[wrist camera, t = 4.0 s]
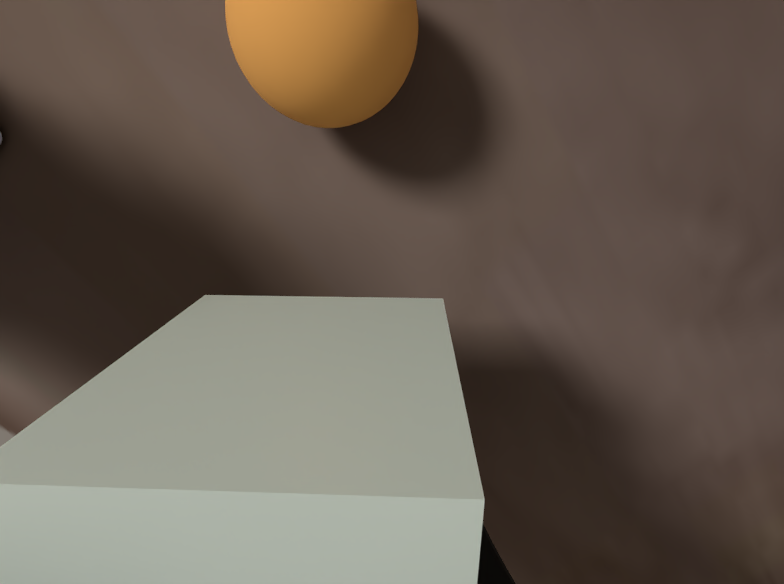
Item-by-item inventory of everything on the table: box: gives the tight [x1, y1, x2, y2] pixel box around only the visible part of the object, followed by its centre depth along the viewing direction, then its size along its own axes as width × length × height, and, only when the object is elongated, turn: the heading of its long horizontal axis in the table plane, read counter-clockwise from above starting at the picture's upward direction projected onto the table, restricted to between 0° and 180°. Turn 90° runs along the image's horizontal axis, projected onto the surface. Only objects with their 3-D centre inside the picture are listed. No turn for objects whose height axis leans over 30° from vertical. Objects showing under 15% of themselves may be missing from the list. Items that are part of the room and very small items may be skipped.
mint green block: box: [0, 295, 485, 584], centre depth 10 cm, size 10×6×6 cm, turn 0°
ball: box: [225, 0, 418, 128], centre depth 12 cm, size 5×5×5 cm
